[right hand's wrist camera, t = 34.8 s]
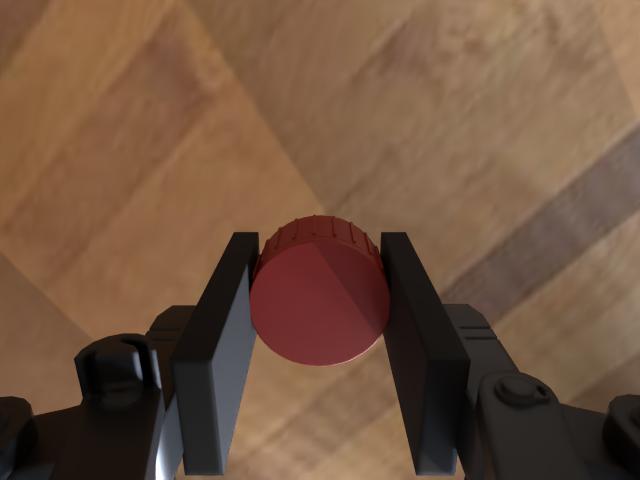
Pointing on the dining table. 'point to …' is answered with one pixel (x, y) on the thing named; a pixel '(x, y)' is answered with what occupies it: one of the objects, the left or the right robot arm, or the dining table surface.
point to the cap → (319, 292)
